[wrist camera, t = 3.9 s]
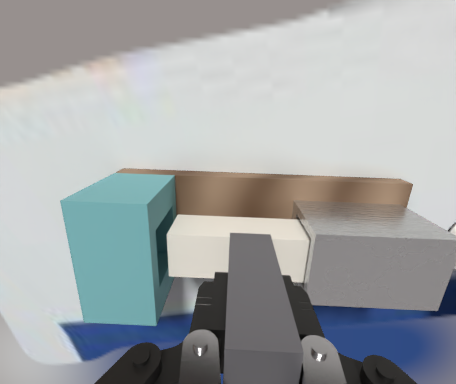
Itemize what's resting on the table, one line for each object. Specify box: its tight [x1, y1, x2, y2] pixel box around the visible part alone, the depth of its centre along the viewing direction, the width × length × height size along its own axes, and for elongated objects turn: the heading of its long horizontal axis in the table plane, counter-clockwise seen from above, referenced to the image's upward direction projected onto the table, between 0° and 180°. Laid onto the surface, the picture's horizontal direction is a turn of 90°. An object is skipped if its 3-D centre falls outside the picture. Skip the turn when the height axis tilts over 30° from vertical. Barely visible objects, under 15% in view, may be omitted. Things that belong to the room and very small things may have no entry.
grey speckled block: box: [291, 200, 456, 311], centre depth 17 cm, size 8×5×5 cm, turn 88°
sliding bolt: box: [167, 215, 311, 384], centre depth 13 cm, size 14×4×10 cm, turn 88°
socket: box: [60, 173, 176, 326], centre depth 17 cm, size 4×8×6 cm, turn 178°
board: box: [116, 169, 413, 219], centre depth 20 cm, size 22×8×2 cm, turn 88°
